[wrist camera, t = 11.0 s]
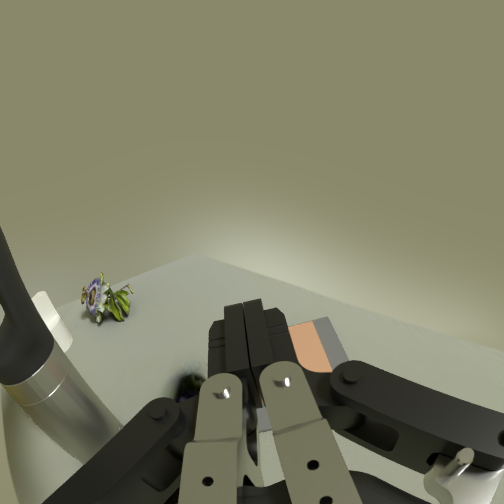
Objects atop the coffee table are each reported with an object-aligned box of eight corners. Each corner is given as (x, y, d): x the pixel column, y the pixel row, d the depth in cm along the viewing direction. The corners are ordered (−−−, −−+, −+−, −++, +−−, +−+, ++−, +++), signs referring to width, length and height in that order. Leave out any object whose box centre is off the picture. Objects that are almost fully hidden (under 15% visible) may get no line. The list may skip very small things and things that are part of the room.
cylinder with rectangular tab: (56, 333, 58) (32, 292, 53) (79, 334, 57) (53, 290, 51) (37, 357, 50) (9, 314, 45) (59, 361, 49) (29, 315, 44)
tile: (256, 397, 33) (248, 336, 44) (258, 404, 34) (250, 343, 45) (335, 378, 33) (312, 320, 44) (335, 385, 34) (313, 328, 45)
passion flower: (110, 338, 62) (74, 304, 61) (137, 307, 69) (103, 274, 68) (113, 332, 54) (72, 291, 52) (145, 295, 61) (106, 257, 59)
